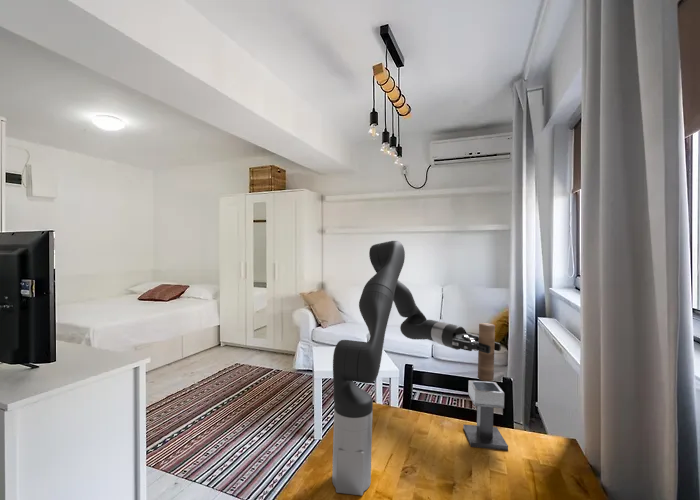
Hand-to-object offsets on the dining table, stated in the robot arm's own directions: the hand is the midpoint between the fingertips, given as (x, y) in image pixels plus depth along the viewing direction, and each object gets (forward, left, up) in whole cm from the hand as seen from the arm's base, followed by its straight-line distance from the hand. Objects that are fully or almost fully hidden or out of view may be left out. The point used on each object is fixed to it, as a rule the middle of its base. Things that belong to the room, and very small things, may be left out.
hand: (494, 348), depth 96 cm
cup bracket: (+2, +2, -27) cm, 28 cm away
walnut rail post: (+2, +2, -10) cm, 10 cm away
